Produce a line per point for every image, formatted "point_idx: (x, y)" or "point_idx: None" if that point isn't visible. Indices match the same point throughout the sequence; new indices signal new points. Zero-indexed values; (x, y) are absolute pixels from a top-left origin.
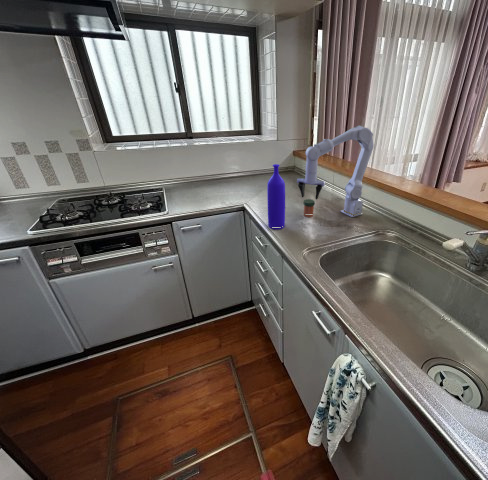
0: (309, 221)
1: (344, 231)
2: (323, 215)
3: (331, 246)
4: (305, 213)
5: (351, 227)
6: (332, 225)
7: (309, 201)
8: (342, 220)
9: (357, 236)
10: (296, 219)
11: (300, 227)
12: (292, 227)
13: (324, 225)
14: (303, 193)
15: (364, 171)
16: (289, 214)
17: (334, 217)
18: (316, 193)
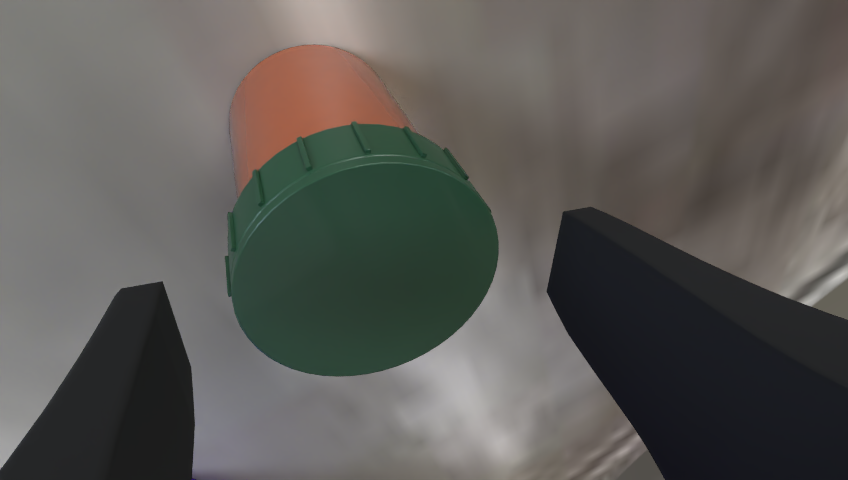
0: None
1: (739, 268)
2: (537, 12)
3: (632, 452)
4: None
5: (818, 170)
6: (651, 227)
7: (385, 293)
8: (774, 50)
9: (813, 281)
10: (230, 322)
11: (368, 415)
12: (298, 453)
13: None
14: (173, 427)
15: None
16: (12, 258)
17: (691, 5)
18: (657, 442)
